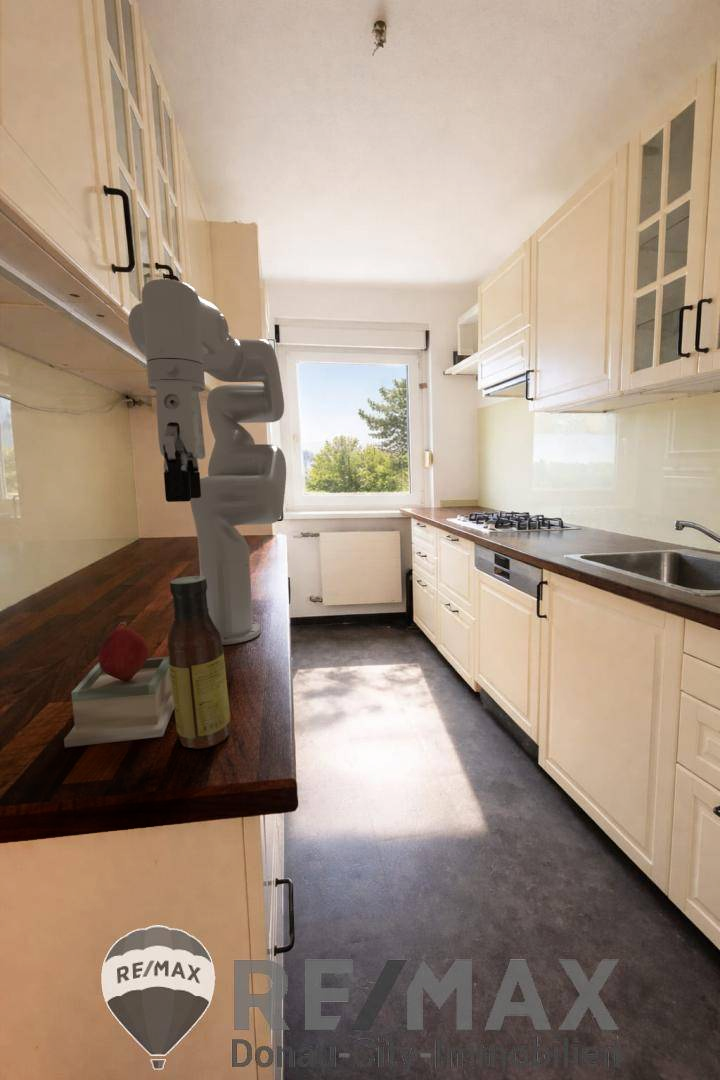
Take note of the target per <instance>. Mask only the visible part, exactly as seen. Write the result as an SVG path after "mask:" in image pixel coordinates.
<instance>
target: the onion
mask: <svg viewBox="0 0 720 1080" xmlns="http://www.w3.org/2000/svg"><path fill="white" fill-rule="evenodd" d="M147 658H149V648H148V645H147V643H146V641H145V639H144V637H143V636H142V635H141V634H139V633H138V632H136V631H134V630H133V629H131V628H129V627H128V623H127V622H126V621H125V622H124V621H122V622H120V623H119V624H118V626H116V627H115V628H114V630H112V632H110V633H109V634H108V635H107V636H106V637H105V639H104V640H102V643H101V644H100V646H99V650H98V663H99V664H100V667H101V669H102V670H103V671H104V672H105V673H106V674H108V675H110V676H112V677H114V678H117V679H120V680H122V681H129V680H131V679H132V678H133V676H134V675H135V674H136V673H137V672H139V671H140V669H141V668H142V667H143V666H144V665H145V663H146V661H147Z"/></svg>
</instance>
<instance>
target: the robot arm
mask: <svg viewBox="0 0 720 1080" xmlns="http://www.w3.org/2000/svg"><path fill="white" fill-rule="evenodd" d="M127 322H128V331H129V334H130V337H131V339H132V342H133V344H134V345H135V347H136V348H137V349H138V351H140V353H141V354H142V355H144V356H145V358H146V359H145V360H146V361H145V362H146V369H147V370H146V372H147V385H148V387H147V388H149V390H152V391H155V395H156V398H155V400H156V421H157V435H158V437H157V438H158V443H159V444H158V445H159V451H160V455H162V456H163V458H164V459H163V471H164V472H163V481H164V493H165V501H167V502H168V503H173V502H174V503H176V502H177V503H178V502H181V503H183V502H185V503H186V502H189V504H190V508H191V512H192V517H193V520H194V525H195V530H196V538H197V547H198V560H199V576H202V577H205V578H206V581H207V590H206V596H207V606H208V609H209V615H210V617H211V619H212V621H213V623H214V625H215V627H216V628H217V630H218V631H219V633H220V637H221V642H222V646H226V645H235V644H241V643H244V642H248V641H250V640H253V639H255V638H256V637H258V636H259V635H260V634H261V633H262V628H261V627H262V626H261V625H260V624H259V623H258V622H255V621H253V620H254V619H253V599H252V580H251V578H252V577H251V562H250V561H251V559H250V556H251V555H250V548H249V544H248V542H247V540H246V539H245V537H244V536H243V535H242V534H241V533H240V532H239V530H238V529H237V528H236V526H250V525H254V526H255V525H260V526H261V525H270V524H271V525H272V524H275V523H276V522H278V521H279V520H280V519H281V518H282V514H283V511H284V504H285V492H286V484H287V483H286V482H287V463H286V456H285V454H284V452H283V450H282V449H281V448H280V447H278V446H276V445H275V444H266V443H265V444H263V443H262V444H257V443H256V444H255V440H254V438H253V436H252V435H251V433H250V432H248V430H247V429H246V428H245V427H244V426H243V425H241V424H246V423H247V424H251V423H256V424H257V423H262V424H263V423H275V422H278V421H281V419H282V418H283V416H284V412H285V399H284V393H283V387H282V380H281V372H280V366H279V362H278V357H277V355H276V352H275V349H274V347H273V346H272V344H271V343H270V342H269V341H268V340H266V339H264V338H250V339H249V338H243V339H242V338H234V337H233V336H232V334H231V333H230V332H229V326H228V321H227V319H226V317H225V315H223V313H222V312H221V311H220V309H219V308H218V307H217V306H216V305H214V304H213V303H212V302H209V301H207V300H205V299H203V298H201V297H200V296H199V294H198V292H197V291H196V289H195V288H194V287H192V286H191V285H190V284H188V283H185V282H182V281H180V280H176V279H168V278H156V279H152V280H150V281H148V282H146V283H145V284H144V285H143V287H142V290H141V302H140V303H137V304H135V305H134V306H133V307H132V308H131V310H130V313H129V316H128V321H127ZM205 373H207V374H208V375H210V376H211V377H213V378H214V379H216V380H218V381H221V382H224V383H236V384H223V385H220V386H216V387H214V388H213V389H212V390H210V391H209V393H208V394H207V398H206V410H207V411H206V412H207V416H208V423H209V425H210V430H211V433H212V435H213V439H214V445H213V448H212V451H211V454H210V458H209V461H208V467H207V475H208V476H205V477H201V475H200V471H199V463H198V460H203V459H205V458H206V448H205V447H206V446H205V439H204V437H205V436H204V428H203V427H204V426H203V416H202V407H201V402H200V401H201V399H200V396H199V395H200V394H199V393H202V392H204V391H205V390H206V383H205ZM237 383H241V384H237ZM242 383H244V384H242ZM246 383H247V384H246ZM254 383H255V384H254Z"/></svg>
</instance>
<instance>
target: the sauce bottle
mask: <svg viewBox="0 0 720 1080" xmlns="http://www.w3.org/2000/svg"><path fill="white" fill-rule="evenodd" d="M169 589H170V590H169V591H170V593H171V595H172V600H173V607H174V610H173V611H174V613H173V616H174V621H173V623H172V625H171V628H170V630H169V632H168V634H167V635H168V636H167V643H166V644H167V646H166V647H167V648H168V649H167V650H168V657H169V659H170V660H169V667H170V675H171V684H172V692H173V701H174V710H173V711H174V718H175V726H176V728H175V729H176V732H177V734H178V738H179V741H180V743H181V746H183V747H184V748H188V749H189V748H190V749H197V750H199V749H200V750H202V749H207V748H211V747H213V746H216V745H219V744H220V743H221V742H223V741H226V738H228V737H229V734H230V732H231V722H230V721H231V712H230V702H229V694H228V693H229V692H228V684H227V683H228V682H227V674H226V664H225V663H226V662H225V655H224V654H225V653H224V647H223V646H224V645H222V642H221V637H220V633H219V631H218V630H217V628H216V627H215V625H214V623H213V621H212V619H211V617H210V615H209V609H208V606H207V596H206V590H207V581H206V578H205V577H202V576H200V575H192V576H191V575H189V576H188V575H187V576H182V577H177V578H175V579H172V580H171V581H170V582H169Z"/></svg>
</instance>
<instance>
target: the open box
mask: <svg viewBox="0 0 720 1080" xmlns="http://www.w3.org/2000/svg"><path fill="white" fill-rule="evenodd" d="M169 660H170V659H169V656H164V657H163V656H160V657H150V658H149V657H148V658H147V661H146V663H145V665H144V666H143V667H142V668H141V669H140V671H139V672H137V673H136V674H135V675H134V676H133V678H132V679H131V680H129V681H122V680H120V679H117V678H114V677H112V676H110V675H108V674H106V673H105V672H104V671H103V670H102V669H101V667H100V664H99V662H98V663H96V664H95V666H93V668H92V669H91V670H90V671H89V672H88V674H86V675H85V677H84V678H83V679H82V680H81V681H80V682H79V683H78V685H76V687H75V688H74V689H73V690H72V691H70V693H71V702H72V703H71V704H72V712H73V723H74V725H73V727H72V729H71V730H70V731H69V732H68V733H67V735H66V736H65V737H64V739H63V744H64V748H70V747H80V746H88V745H89V746H91V745H98V744H106V743H113V742H114V743H117V742H125V741H135V740H143V739H150V738H151V739H152V738H160V737H164V734H165V731H166V729H167V726H168V724H169V722H170V720H171V718H172V717H171V716H172V715H173V711H175V710H174V701H173V692H172V684H171V675H170V667H169Z"/></svg>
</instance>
